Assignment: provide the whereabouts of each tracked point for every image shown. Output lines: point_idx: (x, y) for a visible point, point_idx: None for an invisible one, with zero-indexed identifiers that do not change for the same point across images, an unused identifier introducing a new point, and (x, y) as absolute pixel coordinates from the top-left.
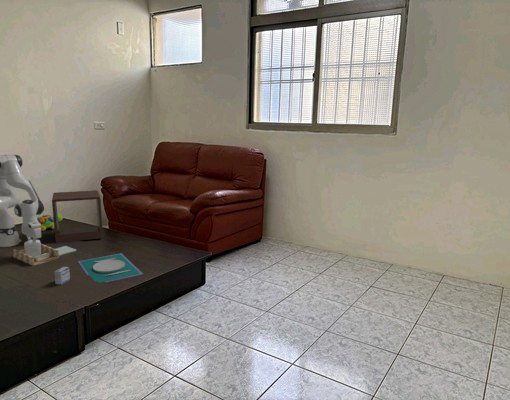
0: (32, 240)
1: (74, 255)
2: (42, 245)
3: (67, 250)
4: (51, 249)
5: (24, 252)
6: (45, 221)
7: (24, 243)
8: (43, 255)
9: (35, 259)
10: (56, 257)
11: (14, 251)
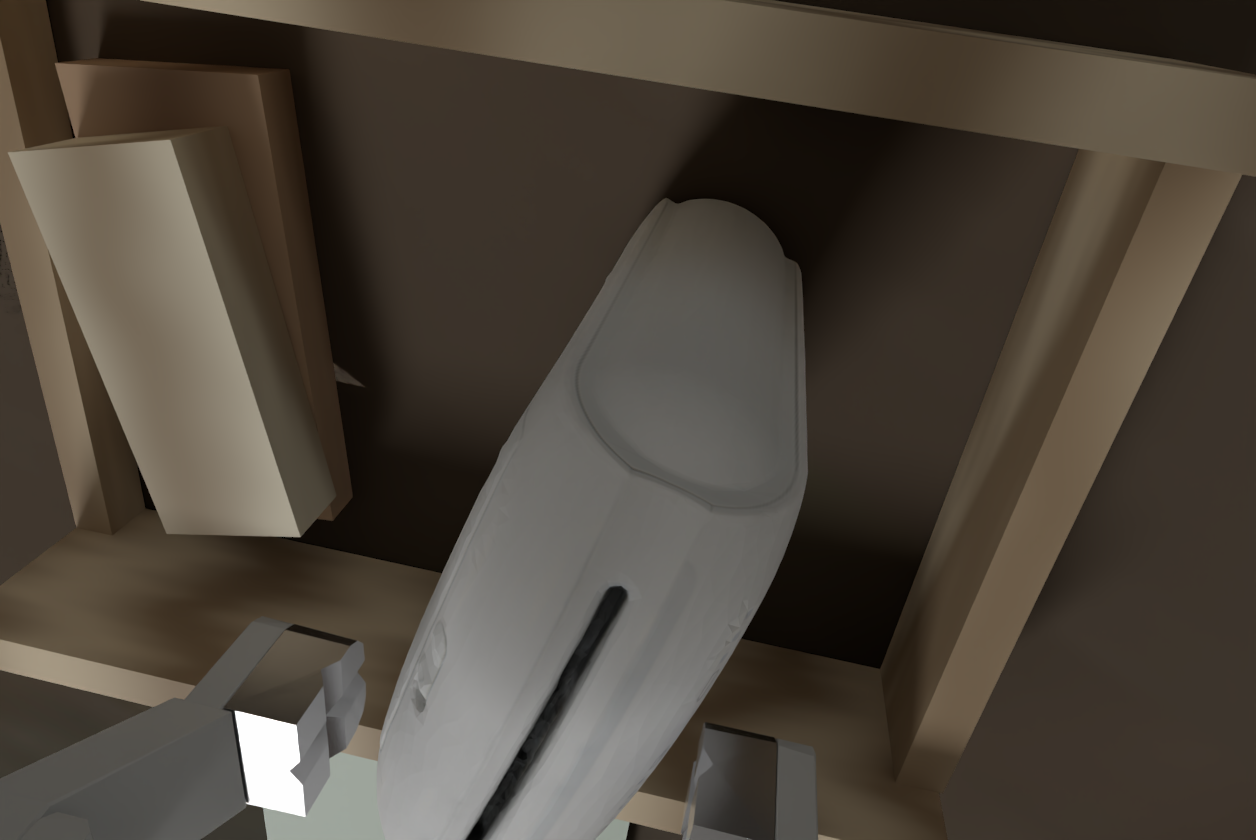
0: (455, 770)
1: (81, 706)
2: (655, 787)
3: (345, 817)
4: (203, 665)
5: (1014, 402)
6: None
7: (781, 496)
8: (151, 387)
9: (132, 135)
10: (81, 504)
11: (1150, 61)
